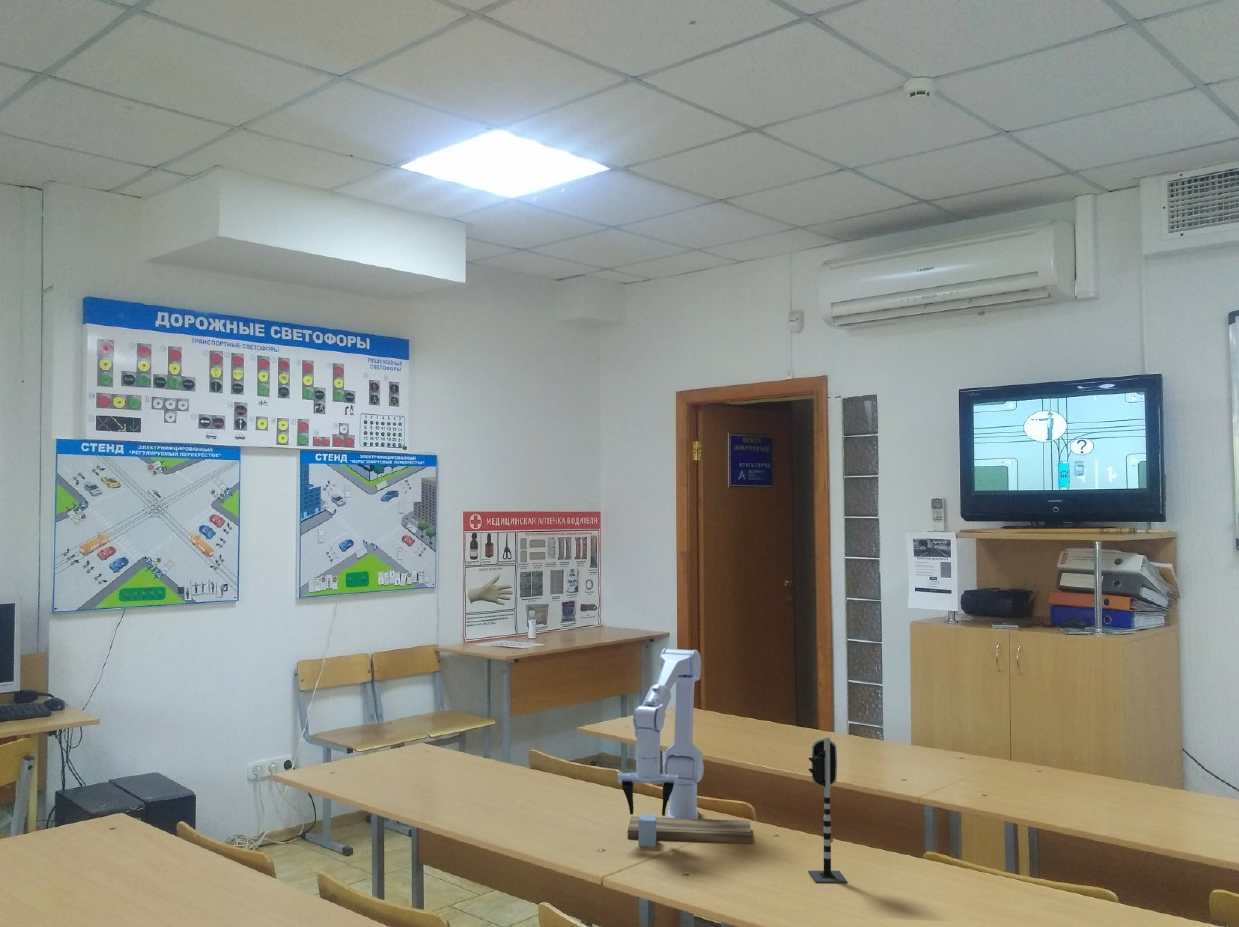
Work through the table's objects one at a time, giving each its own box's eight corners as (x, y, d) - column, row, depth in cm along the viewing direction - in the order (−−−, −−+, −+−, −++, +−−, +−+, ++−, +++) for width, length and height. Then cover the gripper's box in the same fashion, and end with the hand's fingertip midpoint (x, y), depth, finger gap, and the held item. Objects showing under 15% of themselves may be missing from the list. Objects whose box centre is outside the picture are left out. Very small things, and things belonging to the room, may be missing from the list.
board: (631, 824, 256) (631, 816, 256) (749, 828, 253) (749, 820, 254) (627, 838, 244) (627, 829, 244) (751, 843, 242) (751, 834, 242)
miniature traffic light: (838, 871, 222) (838, 733, 224) (847, 883, 214) (846, 740, 217) (805, 871, 222) (805, 733, 224) (812, 882, 214) (812, 740, 216)
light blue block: (640, 836, 246) (640, 811, 247) (656, 836, 246) (657, 811, 246) (638, 846, 238) (638, 820, 239) (655, 846, 238) (655, 820, 238)
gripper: (617, 759, 239) (616, 817, 238) (677, 761, 238) (677, 819, 237) (619, 752, 246) (618, 809, 245) (678, 754, 245) (678, 811, 244)
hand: (647, 814), depth 241 cm, fingers open, 7 cm apart
